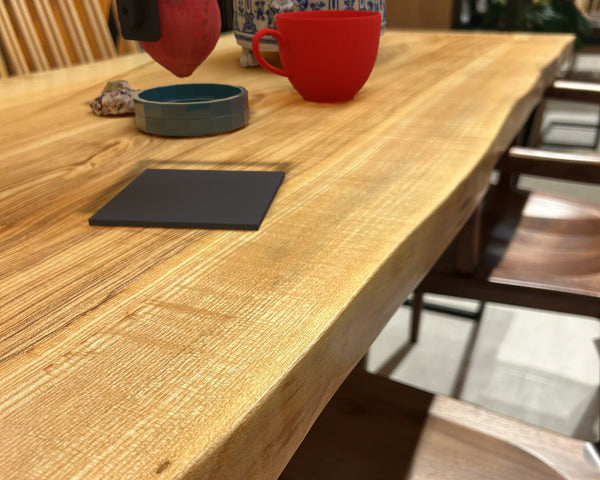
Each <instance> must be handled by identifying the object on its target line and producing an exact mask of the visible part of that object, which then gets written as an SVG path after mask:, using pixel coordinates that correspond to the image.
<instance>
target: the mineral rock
mask: <svg viewBox="0 0 600 480" xmlns="http://www.w3.org/2000/svg"><path fill="white" fill-rule="evenodd" d="M140 90H141V89H134V88H132V87H131V85H130V84H129V81H127V80H124V79H116V80H108V81H107V82H106V84H105V86H104V87H103V89H102V90H101V91H100V94H99V96H97V97H95V98H94V99H92V100H91V101H90V102H89V106H90V108H91V109H92V112H93V113H94V114H95V115H96V116H101V117H102V116H110V115H114V116H117V115H123V114H128V113H129V114H130V113H133V114H135V109H134V102H133V94H134V93H136V92H138V91H140Z"/></svg>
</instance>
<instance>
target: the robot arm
mask: <svg viewBox="0 0 600 480" xmlns="http://www.w3.org/2000/svg"><path fill="white" fill-rule="evenodd" d="M217 3H218V6H219V9H220V15H221V32H220V33H226V32H227V33H228V32H231V31H232V29H233V15H232V14H233V13H232V0H217ZM115 7H116V13H117V19H118V22H119V27H120V34H121V37H122V39H123V40H125V41H133V42H134V41H135V42H139V41H145V42H154V41H158V40H159V39H160V37H161V28H160V19H159V11H158V2H157V0H115Z"/></svg>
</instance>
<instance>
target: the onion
mask: <svg viewBox="0 0 600 480" xmlns="http://www.w3.org/2000/svg"><path fill="white" fill-rule="evenodd" d="M157 2H158V11H159V19H160V28H161V37H160V39H159V40H158V41H154V42H145V41H138V42H139V44H140V45H141V47H142V48H143V51H144V52H145V53H146V54H147V55H148V56H149V57H150V58H151V59H152V60H153V61H154V62H156V63H157V64H158V65H160V66H161V67H162V68H164V69H166V70H167V71H168V72H170V73H171V74H172V75H173V76H175V77H176V78H179V79H185V78H190V77H191V76H192V75H193V73H194V72H195V71H196V70H197V69H198V68H199V67H200V66H201V65H202V64H203V63H204V62H205V61H206V60H207V59H208V58H209V57H210V55H211V54H212V52H214V50H215V49H216V46H217V44H218V42H219V40H220V38H221V33H222V32H221V15H220V9H219V6H218V3H217V0H157Z"/></svg>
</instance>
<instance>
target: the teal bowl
mask: <svg viewBox="0 0 600 480" xmlns="http://www.w3.org/2000/svg"><path fill="white" fill-rule="evenodd" d="M139 90H140V91H138V92H136V93H134V94H133V102H134V109H135V112H134V116H135V123H136V129H137V130H139V131H142V132H144V133H147V134H149V135H157V136H163V137H172V138H173V137H174V138H189V137H190V138H191V137H203V136H204V137H206V136H213V135H218V134H223V133H228V132H230V131H234V130H236V129H239V128H241V127H244V126H246V125H247V124H248V123H249V121H250V106H249V90H247V89H246V87H244V86H241V85H237V84H233V83H224V82H182V83H171V84H163V85H157V86H151V87H146V88H142V89H139Z"/></svg>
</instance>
